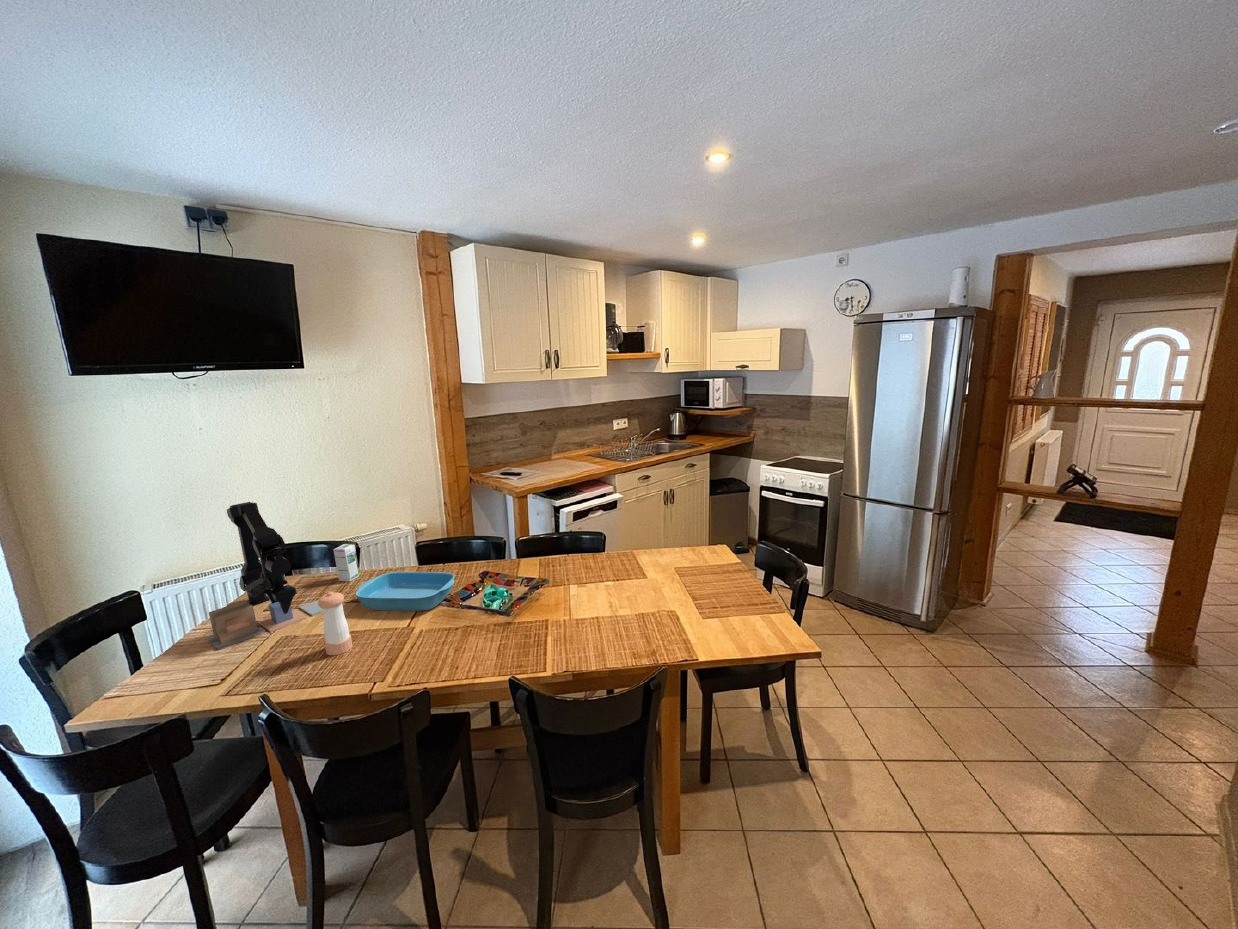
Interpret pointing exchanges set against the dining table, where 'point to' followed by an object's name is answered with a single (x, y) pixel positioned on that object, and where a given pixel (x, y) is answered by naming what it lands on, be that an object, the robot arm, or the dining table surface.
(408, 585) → the casserole dish
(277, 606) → the block
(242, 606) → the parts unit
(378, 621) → the dining table surface
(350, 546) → the syrup box
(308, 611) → the grey mat
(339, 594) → the salt shaker
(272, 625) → the terracotta mat
